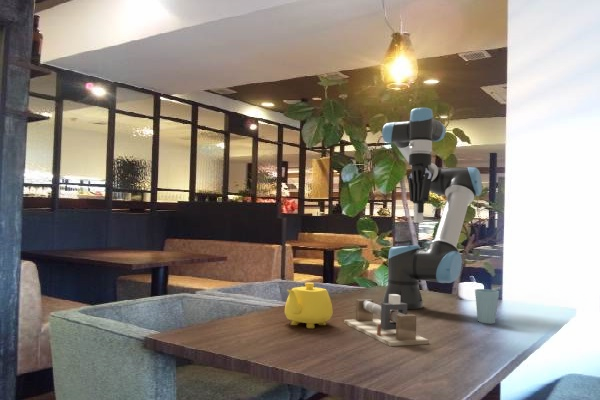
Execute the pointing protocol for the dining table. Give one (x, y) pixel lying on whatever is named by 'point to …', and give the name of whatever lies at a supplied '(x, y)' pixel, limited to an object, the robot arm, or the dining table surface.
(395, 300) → the grey sliding frame
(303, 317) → the teapot
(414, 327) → the pipe rig
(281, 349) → the dining table surface
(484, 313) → the cup
